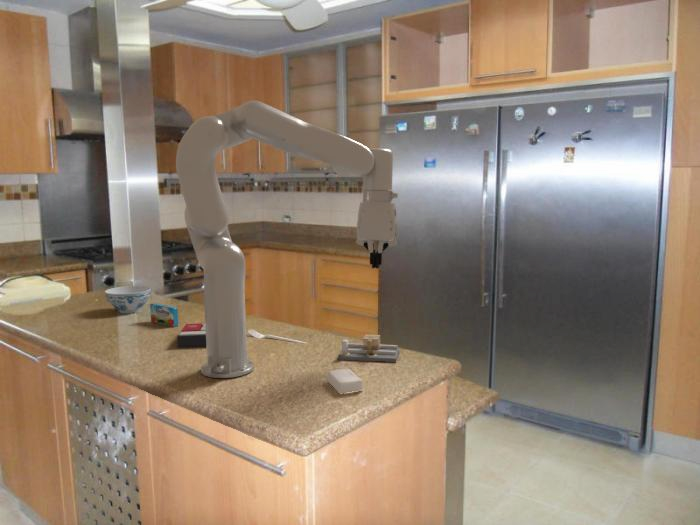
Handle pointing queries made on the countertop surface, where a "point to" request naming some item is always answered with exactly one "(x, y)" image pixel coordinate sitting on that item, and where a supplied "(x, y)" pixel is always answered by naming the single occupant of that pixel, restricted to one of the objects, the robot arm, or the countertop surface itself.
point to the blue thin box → (164, 314)
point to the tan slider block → (371, 343)
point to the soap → (344, 381)
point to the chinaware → (128, 297)
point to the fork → (271, 337)
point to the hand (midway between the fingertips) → (375, 267)
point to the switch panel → (357, 353)
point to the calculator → (192, 336)
